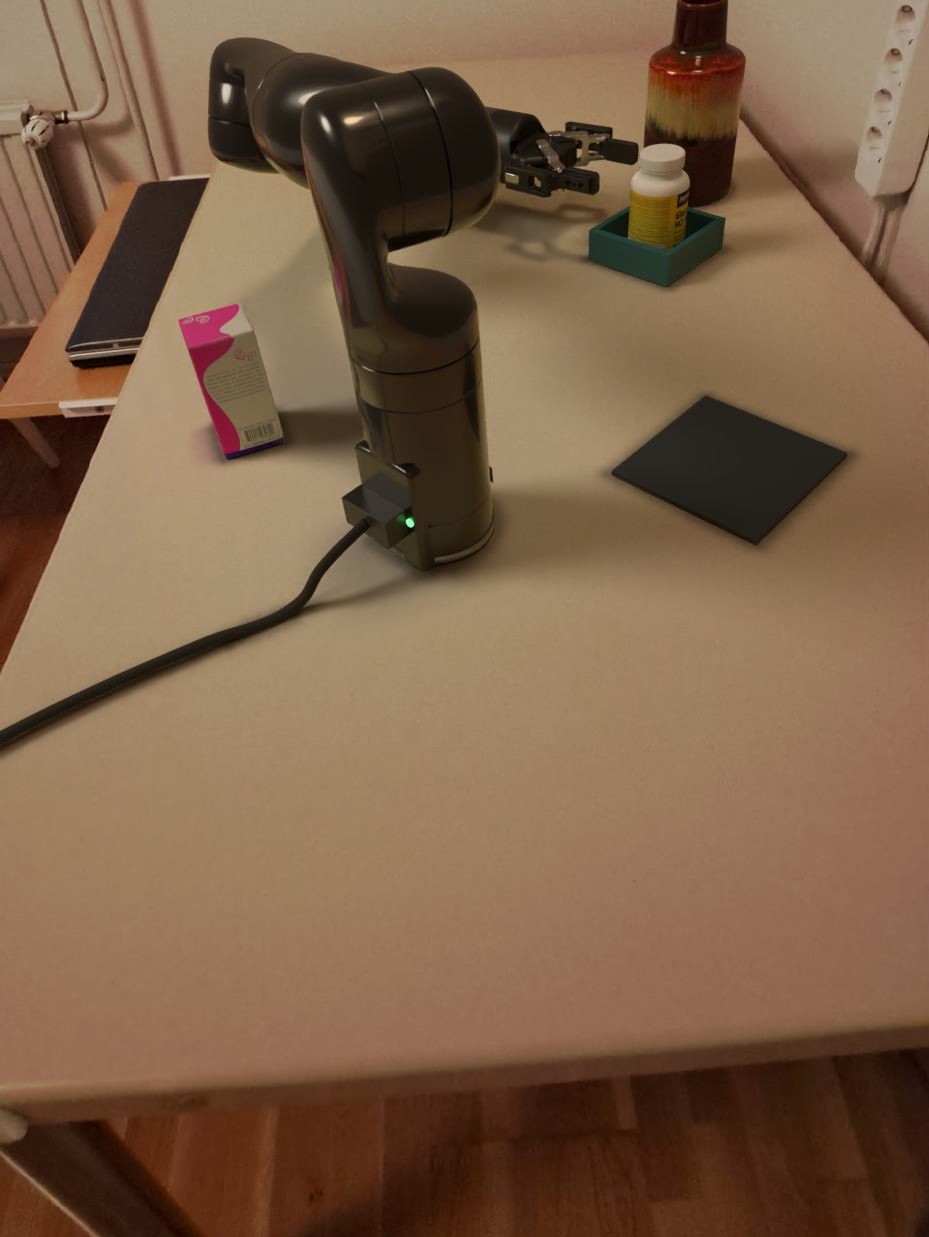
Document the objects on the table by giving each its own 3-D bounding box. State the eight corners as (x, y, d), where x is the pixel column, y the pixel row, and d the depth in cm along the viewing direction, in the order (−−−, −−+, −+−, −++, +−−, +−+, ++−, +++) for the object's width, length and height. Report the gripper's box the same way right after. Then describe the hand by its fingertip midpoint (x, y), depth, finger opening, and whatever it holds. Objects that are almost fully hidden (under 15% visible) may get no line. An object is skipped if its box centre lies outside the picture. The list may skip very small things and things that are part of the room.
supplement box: (271, 410, 90) (241, 299, 82) (286, 443, 86) (256, 331, 78) (212, 426, 89) (176, 316, 81) (224, 461, 85) (187, 349, 77)
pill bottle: (681, 268, 103) (691, 164, 95) (624, 267, 104) (629, 164, 96) (684, 242, 107) (694, 140, 99) (629, 241, 108) (634, 140, 100)
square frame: (666, 287, 100) (669, 255, 98) (588, 260, 106) (588, 229, 103) (722, 248, 105) (726, 217, 102) (644, 224, 110) (646, 194, 108)
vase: (739, 175, 117) (764, -16, 103) (717, 212, 111) (740, 14, 96) (655, 166, 121) (668, -19, 106) (629, 202, 115) (639, 10, 100)
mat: (756, 544, 73) (756, 541, 72) (611, 474, 80) (611, 470, 79) (846, 456, 79) (848, 452, 79) (705, 398, 86) (705, 394, 86)
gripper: (529, 156, 115) (647, 179, 108) (461, 201, 108) (583, 230, 100) (527, 89, 109) (651, 109, 102) (455, 132, 102) (584, 157, 95)
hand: (617, 169), depth 101 cm, fingers open, 8 cm apart
